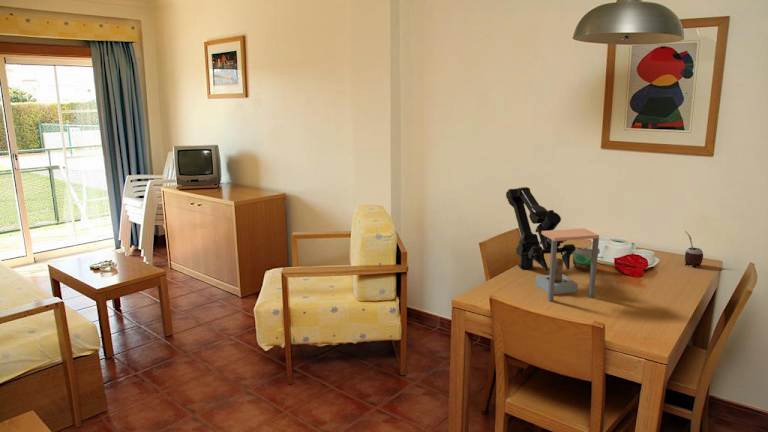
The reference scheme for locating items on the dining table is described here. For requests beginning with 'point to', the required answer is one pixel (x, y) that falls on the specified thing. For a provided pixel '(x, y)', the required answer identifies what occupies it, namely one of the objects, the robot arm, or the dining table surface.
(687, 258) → the mate gourd
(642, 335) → the dining table surface
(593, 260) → the small table
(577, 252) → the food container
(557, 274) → the peg
